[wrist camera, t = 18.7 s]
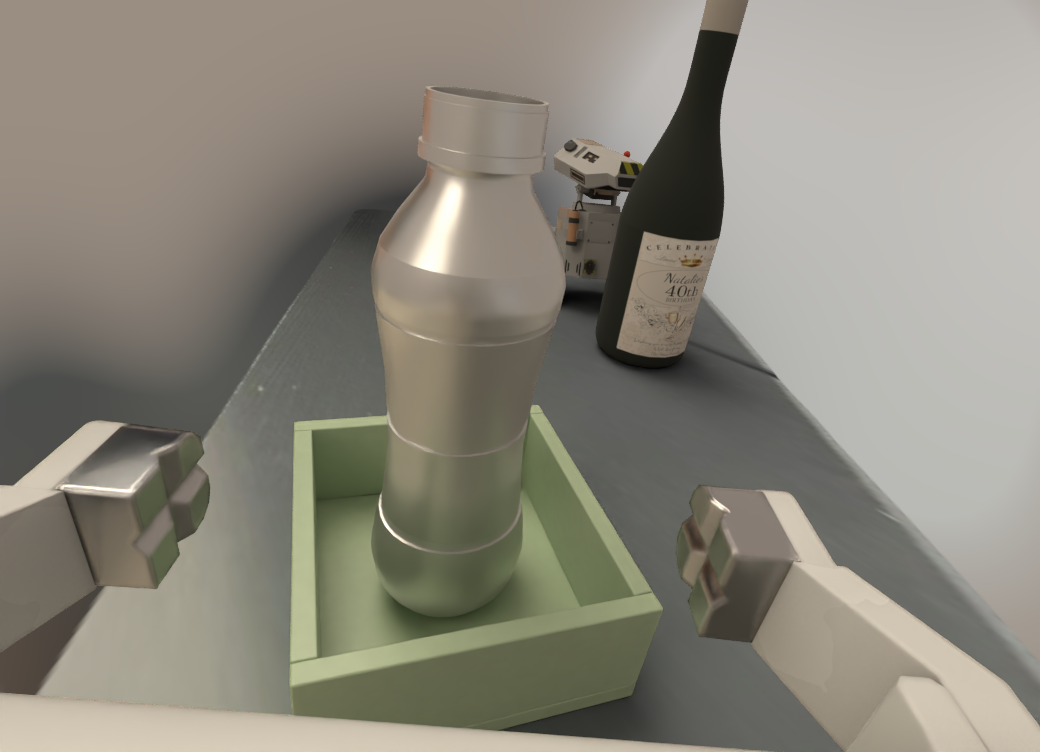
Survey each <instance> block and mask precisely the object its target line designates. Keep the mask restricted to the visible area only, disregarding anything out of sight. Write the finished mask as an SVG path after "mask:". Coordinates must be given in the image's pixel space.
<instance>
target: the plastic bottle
mask: <svg viewBox="0 0 1040 752" xmlns="http://www.w3.org/2000/svg"><path fill="white" fill-rule="evenodd" d="M548 107H549V104H548V103H547V102H544V101H540V100H536V99H532V98H527V97H522V96H516V95H511V94H505V93H498V92H491V91H484V90H476V89H467V88H457V87H445V86H428V87H426V94H425V95H424V109H423V110H424V111H423V129H422V136H420V137H419V139H418V155H419V156H420V157H421V158H423V159H425V160H427V161H428V164H427V168H426V173H425V177H424V178H423V179H422V181H421V182H420V183H419V184H418V185H417V187H416V188H415V189H414V190H413V191H412V193H411V194H410V195H409V196H408V198H407V199H406V200H405V201H404V202H403V204H402V205H401V206H400V207H399V208H398V210H397V211H396V213H395V214H394V216H393V217H392V219H391V220H390V222H389V223H388V225H387V226H386V228H385V229H384V231H383V232H382V234H381V235H380V238H379V242H378V245H377V248H376V252H375V255H374V258H373V262H372V265H371V277H372V291H373V297H374V300H375V303H374V304H375V310H376V317H377V323H378V329H379V336H380V342H381V349H382V355H383V361H384V368H385V385H386V404H387V408H388V412H387V425H388V442H387V451H386V460H385V469H384V478H383V487H382V492H381V494H380V497H379V500H378V504H377V507H376V512H375V518H374V523H373V529H372V537H371V548H372V555H373V559H374V563H375V567H376V570H377V574H378V577H379V579H380V582H381V584H382V586H383V587H384V589H385V590H386V591H387V592H388V594H389V595H390V596H391V597H392V598H394V599H395V600H396V601H397V602H399V603H400V604H401V605H403V606H405V607H407V608H409V609H411V610H412V611H414V612H416V613H419V614H423V615H426V616H431V617H440V618H442V617H455V616H459V615H463V614H467V613H469V612H471V611H474V610H476V609H478V608H480V607H482V606H484V605H485V604H487V603H488V602H490V601H491V600H493V599H494V598H495V597H496V596H497V595H498V594H499V593H500V592H501V591H502V590H503V589H504V588H505V586H506V585H507V583H508V582H509V580H510V578H511V576H512V573H513V571H514V568H515V566H516V564H517V561H518V559H519V556H520V553H521V550H522V542H523V512H522V503H521V498H520V492H521V475H522V458H523V442H524V438H525V433H526V429H527V423H528V416H529V414H530V411H531V406H532V401H533V397H534V392H535V387H536V383H537V379H538V376H539V373H540V370H541V367H542V364H543V361H544V358H545V355H546V351H547V348H548V345H549V342H550V339H551V336H552V333H553V330H554V327H555V324H556V321H557V315H558V314H559V312H560V309H561V304H562V300H563V296H564V292H565V288H566V279H565V270H564V262H563V254H562V251H561V249H560V246H559V244H558V241H557V239H556V236H555V233H554V231H553V228H552V226H551V224H550V222H549V220H548V218H547V216H546V214H545V212H544V210H543V208H542V206H541V204H540V202H539V200H538V198H537V196H536V194H535V192H534V190H533V173H538V172H541V171H543V170H544V165H545V157H546V153H545V152H544V151H543V149H544V142H545V136H546V129H547V122H548V116H549V111H548Z"/></svg>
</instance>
